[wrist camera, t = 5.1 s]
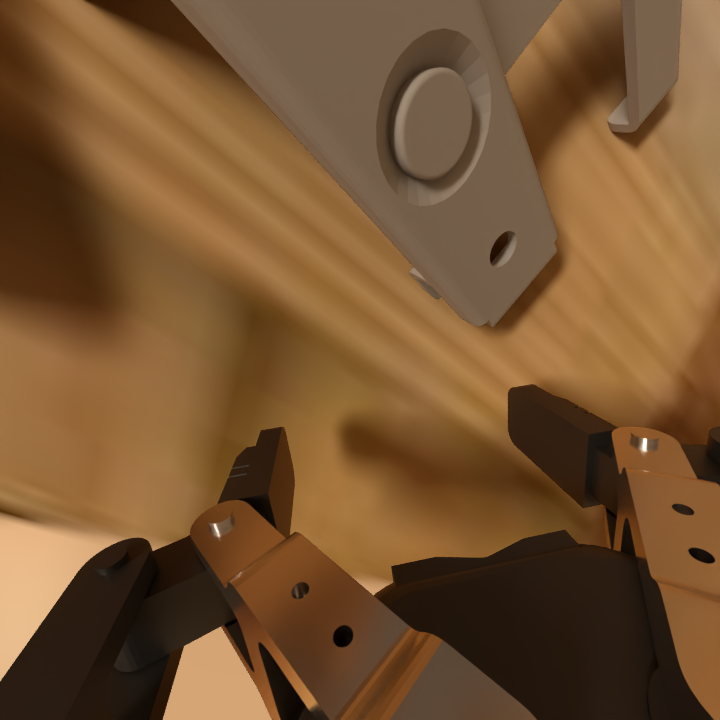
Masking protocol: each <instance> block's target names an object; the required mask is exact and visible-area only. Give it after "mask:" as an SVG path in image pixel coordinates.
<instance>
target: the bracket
mask: <svg viewBox="0 0 720 720" xmlns="http://www.w3.org/2000/svg"><path fill="white" fill-rule="evenodd" d="M171 1H172V2H173V4H174V5H175V6H176V7H177V8H178V9H179V10H180V11H181V12H182V13H183V14H184V16H185V17H186V18H187V19H188V20H189V21H190V22H191V23H192V24H193V25H194V27H195V28H196V29H197V30H198V31H199V32H200V33H201V34H202V35H203V36H204V37H205V39H206V40H207V41H208V42H209V43H210V44H211V45H212V46H213V47H214V48H215V50H216V51H217V52H218V53H219V54H220V55H221V56H222V57H223V58H224V59H225V60H226V62H227V63H228V64H229V65H230V66H231V67H232V68H233V69H234V70H235V71H236V73H237V74H238V75H239V76H240V77H241V78H242V79H243V80H244V81H245V82H246V83H247V85H248V86H249V87H250V88H251V89H252V90H253V91H254V92H255V93H256V94H257V96H258V97H259V98H260V99H261V100H262V101H263V102H264V103H265V104H266V105H267V106H268V108H269V109H270V110H271V111H272V112H273V113H274V114H275V115H276V116H277V117H278V119H279V120H280V121H281V122H282V123H283V124H284V125H285V126H286V127H287V128H288V129H289V131H290V132H291V133H292V134H293V135H294V136H295V137H296V138H297V139H298V140H299V142H300V143H301V144H302V145H303V146H304V147H305V148H306V149H307V150H308V151H309V152H310V154H311V155H312V156H313V157H314V158H315V159H316V160H317V161H318V162H319V163H320V164H321V166H322V167H323V168H324V169H325V170H326V171H327V172H328V173H329V174H330V175H331V177H332V178H333V179H334V180H335V181H336V182H337V183H338V184H339V185H340V186H341V187H342V189H343V190H344V191H345V192H346V193H347V194H348V195H349V196H350V197H351V198H352V200H353V201H354V202H355V203H356V204H357V205H358V206H359V207H360V208H361V209H362V210H363V212H364V213H365V214H366V215H367V216H368V217H369V218H370V219H371V220H372V221H373V223H374V224H375V225H376V226H377V227H378V228H379V229H380V230H381V231H382V232H383V233H384V235H385V236H386V237H387V238H388V239H389V240H390V241H391V242H392V243H393V244H394V246H395V247H396V248H397V249H398V250H399V251H400V252H401V253H402V254H403V255H404V257H405V258H406V259H407V260H408V261H409V262H410V263H411V264H412V265H413V268H412V269H411V270H410V271H409V274H410V275H411V276H412V277H413V278H414V279H415V280H416V281H417V282H418V284H419V285H420V286H421V287H422V288H423V289H424V290H425V291H426V292H427V293H428V294H430V295H431V296H432V297H434V298H436V299H440V298H441V297H442V298H443V299H444V300H445V301H446V302H447V304H448V305H449V306H450V307H451V308H452V309H453V310H454V311H455V312H456V313H457V315H458V316H459V317H460V318H461V319H463V320H465V321H466V322H468V323H470V324H471V325H473V326H482V325H484V324H487V325H489V326H491V327H494V326H495V325H496V324H497V323H498V321H499V320H500V319H501V318H502V317H503V315H504V314H505V313H506V312H507V311H508V309H509V308H510V307H511V306H512V305H513V304H514V302H515V301H516V300H517V299H518V298H519V296H520V295H521V294H522V293H523V292H524V290H525V289H526V288H527V287H528V286H529V285H530V283H531V282H532V281H533V280H534V279H535V277H536V276H537V275H538V274H539V273H540V271H541V270H542V269H543V268H544V267H545V266H546V264H547V263H548V262H549V261H550V260H551V258H552V257H553V256H554V255H555V254H556V252H557V249H556V246H555V243H554V242H555V240H556V239H557V236H558V233H557V230H556V227H555V224H554V221H553V218H552V215H551V212H550V209H549V206H548V203H547V200H546V197H545V194H544V191H543V188H542V185H541V182H540V179H539V176H538V173H537V170H536V167H535V164H534V161H533V158H532V155H531V152H530V149H529V146H528V143H527V140H526V137H525V134H524V131H523V128H522V125H521V122H520V119H519V116H518V113H517V110H516V107H515V104H514V101H513V98H512V95H511V92H510V89H509V86H508V83H507V80H506V77H505V74H506V73H507V72H508V70H509V69H510V68H511V66H512V65H513V64H514V62H515V61H516V60H517V58H518V57H519V56H520V54H521V53H522V52H523V51H524V49H525V48H526V47H527V45H528V44H529V43H530V41H531V40H532V39H533V37H534V36H535V35H536V33H537V32H538V31H539V29H540V28H541V27H542V26H543V24H544V23H545V22H546V20H547V19H548V18H549V16H550V15H551V14H552V12H553V11H554V10H555V8H556V7H557V6H558V4H559V3H560V2H561V1H562V0H171ZM621 4H622V20H623V35H624V51H625V67H626V82H627V96H626V97H625V98H624V99H623V101H622V102H621V103H620V104H619V105H618V107H617V108H616V109H615V110H614V111H613V113H612V114H611V115H610V116H609V117H608V119H607V121H608V125H609V128H610V130H611V131H614V132H627V133H629V132H634V131H635V130H637V129H638V128H639V126H640V125H641V124H642V123H643V122H644V120H645V119H646V118H647V117H648V116H649V114H650V113H651V112H652V111H653V110H654V108H655V107H656V106H657V105H658V104H659V102H660V101H661V100H662V99H663V98H664V97H665V95H666V94H667V93H668V92H669V91H670V89H671V88H672V87H673V86H674V85H675V83H676V82H677V80H678V69H679V49H680V28H681V7H682V0H621ZM504 232H507V234H508V242H507V244H506V245H505V247H504V248H503V249H502V250H501V252H500V253H499V254H498V255H497V256H496V258H495V259H494V260H493V261H492V263H491V262H490V252H491V249H492V247H493V245H494V243H495V241H496V240H497V238H498V237H499V236H500V235H501V234H503V233H504Z"/></svg>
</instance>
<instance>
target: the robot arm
mask: <svg viewBox="0 0 720 720" xmlns="http://www.w3.org/2000/svg"><path fill="white" fill-rule="evenodd" d="M508 431H509V435H510V438H511V440H512V442H513V443H514V445H515V446H516V447H517V448H518V449H520V450H521V451H522V452H523V453H524V454H525V455H526V456H527V457H528V458H529V459H530V460H532V461H533V462H534V463H535V464H536V465H537V466H538V467H539V468H540V469H541V470H542V471H543V472H545V473H546V474H547V475H548V476H549V477H550V478H551V479H552V480H553V481H554V482H555V483H556V484H558V485H559V486H560V487H561V488H562V489H563V490H564V491H565V492H566V493H567V494H568V495H570V496H571V497H572V498H573V499H574V500H575V501H576V502H577V503H578V504H579V505H580V506H581V507H583V508H586V507H590V506H595V505H600V504H603V505H604V506H605V508H604V525H605V534H606V542H607V548H605V547H600V546H595V545H586V544H578V543H577V542H576V541H575V540H574V539H573V538H572V537H571V536H570V535H569V533H568V532H567V531H566V530H561V531H557V532H552V533H547V534H542V535H538V536H533V537H528V538H524V539H522V540H520V541H518V542H516V543H514V544H512V545H510V546H508V547H506V548H504V549H502V550H500V551H498V552H496V553H494V554H492V555H491V556H488V557H484V558H461V557H433V558H428V559H424V560H419V561H414V562H409V563H405V564H400V565H395V566H391V568H392V576H393V583H392V584H390V585H388V586H386V587H385V588H383V589H382V590H380V591H379V592H377V593H376V594H375V595H374V596H373V595H372V594H371V593H370V592H369V591H367V590H366V589H365V588H364V587H363V586H362V585H360V584H359V583H358V582H357V581H356V580H355V579H353V578H352V577H351V576H350V575H349V574H348V573H346V572H345V571H344V570H343V569H342V568H341V567H339V566H338V565H337V564H336V563H335V562H334V561H332V560H331V559H330V558H329V557H328V556H327V555H325V554H324V553H323V552H322V551H321V550H319V549H318V548H317V547H316V546H315V545H314V544H312V543H311V542H310V541H309V540H308V539H307V538H305V537H304V536H303V535H302V534H300V533H298V532H294V533H293V534H292V535H290V527H291V517H292V506H293V496H294V486H295V479H294V470H293V464H292V460H291V455H290V450H289V446H288V441H287V436H286V432H285V429H284V427H278V428H273V429H267V430H261V432H260V435H259V438H258V441H257V444H256V446H253V447H247V448H246V449H245V450H244V451H243V452H242V453H241V454H240V455H239V456H238V457H237V458H236V460H235V462H234V465H233V467H232V468H233V469H232V470H231V472H230V475H229V478H228V479H227V482H226V484H225V487H224V489H223V492H222V494H221V497H220V499H219V501H218V504H217V505H215V506H213V507H211V508H209V509H208V510H206V511H205V512H204V513H202V514H201V515H200V516H199V517H198V518H197V519H196V520H195V521H194V523H193V525H192V527H191V529H190V535H189V536H187V537H185V538H183V539H181V540H179V541H176V542H174V543H172V544H169V545H167V546H164V547H162V548H159V549H157V550H155V551H152V548H151V545H150V543H149V541H147V540H146V539H143V538H131V539H126V540H123V541H120V542H117V543H115V544H113V545H111V546H109V547H107V548H105V549H104V550H102V551H101V552H99V553H98V554H96V555H95V556H93V557H92V558H91V559H90V560H89V561H88V562H86V563H85V565H84V566H83V567H82V568H81V569H80V570H79V571H78V573H77V574H76V576H75V577H74V579H73V580H72V581H71V582H70V584H69V585H68V587H67V588H66V590H65V591H64V592H63V594H62V595H61V597H60V598H59V599H58V601H57V602H56V604H55V605H54V606H53V608H52V609H51V611H50V612H49V614H48V615H47V616H46V618H45V619H44V621H43V622H42V623H41V625H40V626H39V628H38V629H37V631H36V632H35V633H34V635H33V636H32V638H31V639H30V641H29V642H28V643H27V645H26V646H25V648H24V649H23V650H22V652H21V653H20V654H19V656H18V657H17V659H16V660H15V662H14V663H13V664H12V666H11V667H10V669H9V670H8V671H7V673H6V674H5V676H4V677H3V678H2V680H1V681H0V720H163V716H164V713H165V709H166V706H167V702H168V699H169V695H170V692H171V689H172V685H173V682H174V678H175V675H176V672H177V668H178V665H179V661H180V658H181V654H182V651H183V648H184V646H185V645H186V644H189V643H190V642H192V641H194V640H196V639H198V638H200V637H202V636H204V635H205V634H207V633H209V632H211V631H213V630H215V629H217V628H219V627H222V629H223V631H224V633H225V634H226V636H227V638H228V639H229V641H230V643H231V644H232V646H233V648H234V649H235V651H236V652H237V654H238V656H239V658H240V660H241V661H242V663H243V665H244V666H245V668H246V670H247V671H248V673H249V675H250V677H251V678H252V680H253V682H254V683H255V685H256V687H257V689H258V691H259V693H260V694H261V697H262V699H263V701H264V703H265V706H266V708H267V710H268V712H269V715H270V717H271V718H272V720H720V427H715V428H712V429H711V430H710V431H709V436H708V441H707V445H680V444H679V442H678V441H677V440H676V439H674V438H673V437H671V436H670V435H668V434H665V433H663V432H660V431H657V430H653V429H649V428H644V427H632V426H629V427H620V428H617V427H616V426H614V425H612V424H610V423H608V422H607V421H605V420H603V419H601V418H599V417H597V416H596V415H594V414H592V413H588V411H586V410H585V409H583V408H581V407H580V408H579V407H578V406H577V405H575V404H574V403H572V402H570V401H568V400H566V399H563V398H560V397H556V396H553V395H552V394H550V393H548V392H546V391H544V390H543V389H541V388H539V387H537V386H535V385H533V384H531V385H525V386H519V387H513V388H511V389H510V390H509V392H508Z"/></svg>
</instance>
